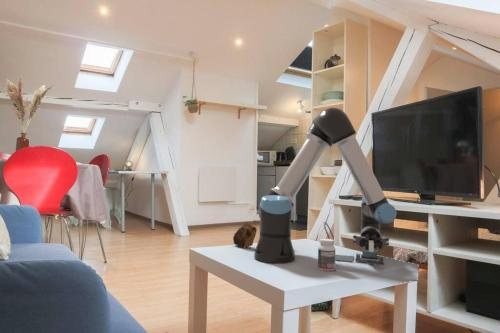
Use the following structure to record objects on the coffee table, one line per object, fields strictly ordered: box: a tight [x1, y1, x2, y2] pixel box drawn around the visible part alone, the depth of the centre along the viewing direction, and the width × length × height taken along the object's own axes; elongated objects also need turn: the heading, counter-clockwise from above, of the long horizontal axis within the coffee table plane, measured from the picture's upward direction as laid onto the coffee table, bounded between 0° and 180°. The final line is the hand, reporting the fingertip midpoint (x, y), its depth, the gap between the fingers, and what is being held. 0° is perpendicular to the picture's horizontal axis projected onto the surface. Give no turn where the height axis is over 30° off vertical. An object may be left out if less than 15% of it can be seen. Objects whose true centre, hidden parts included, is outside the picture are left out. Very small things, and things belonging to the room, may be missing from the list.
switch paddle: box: [360, 247, 379, 260], centre depth 135 cm, size 6×1×12 cm
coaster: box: [335, 254, 354, 263], centre depth 145 cm, size 10×10×1 cm
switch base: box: [355, 253, 385, 266], centre depth 140 cm, size 10×4×3 cm, turn 72°
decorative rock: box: [232, 221, 258, 248], centre depth 163 cm, size 12×6×11 cm, turn 35°
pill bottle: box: [317, 238, 336, 272], centre depth 127 cm, size 6×6×10 cm
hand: (371, 247), depth 123 cm, fingers closed
